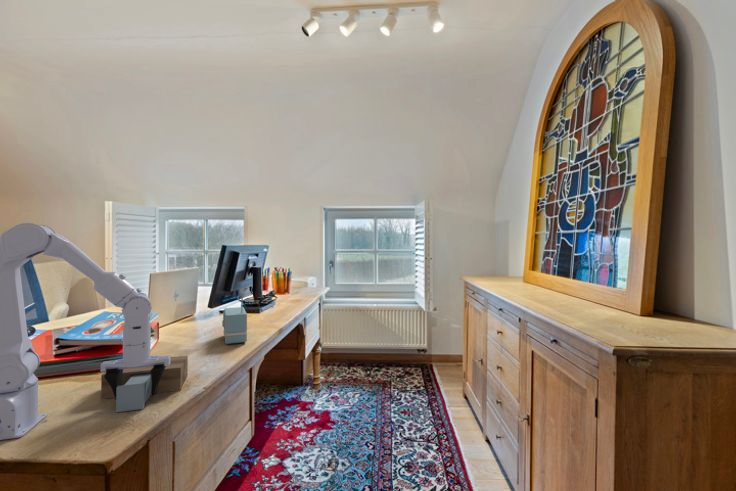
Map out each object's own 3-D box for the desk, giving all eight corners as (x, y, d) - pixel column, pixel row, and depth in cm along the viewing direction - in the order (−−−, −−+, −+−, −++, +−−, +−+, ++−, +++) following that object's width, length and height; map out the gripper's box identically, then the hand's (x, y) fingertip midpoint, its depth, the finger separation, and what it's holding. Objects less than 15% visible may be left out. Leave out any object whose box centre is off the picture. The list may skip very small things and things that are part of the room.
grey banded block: (221, 336, 145) (221, 289, 145) (243, 333, 149) (243, 288, 149) (222, 346, 131) (222, 294, 130) (246, 343, 134) (247, 293, 134)
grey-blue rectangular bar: (143, 408, 81) (143, 384, 81) (116, 412, 79) (116, 387, 79) (161, 381, 97) (161, 360, 97) (139, 383, 95) (139, 362, 95)
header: (180, 390, 92) (180, 367, 92) (101, 399, 86) (101, 374, 86) (187, 376, 101) (187, 355, 101) (116, 383, 96) (116, 361, 96)
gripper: (173, 335, 91) (172, 386, 91) (108, 340, 86) (108, 393, 86) (166, 343, 84) (166, 397, 84) (96, 348, 79) (96, 406, 79)
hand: (136, 396), depth 85 cm, fingers open, 7 cm apart
